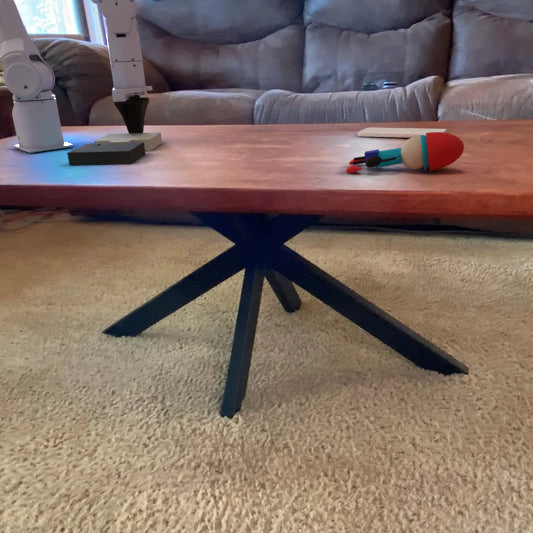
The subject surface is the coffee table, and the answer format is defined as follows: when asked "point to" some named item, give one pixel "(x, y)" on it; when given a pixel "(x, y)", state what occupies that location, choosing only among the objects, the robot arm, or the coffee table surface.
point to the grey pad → (132, 139)
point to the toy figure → (415, 153)
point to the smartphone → (397, 132)
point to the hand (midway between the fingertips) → (136, 137)
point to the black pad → (106, 154)
